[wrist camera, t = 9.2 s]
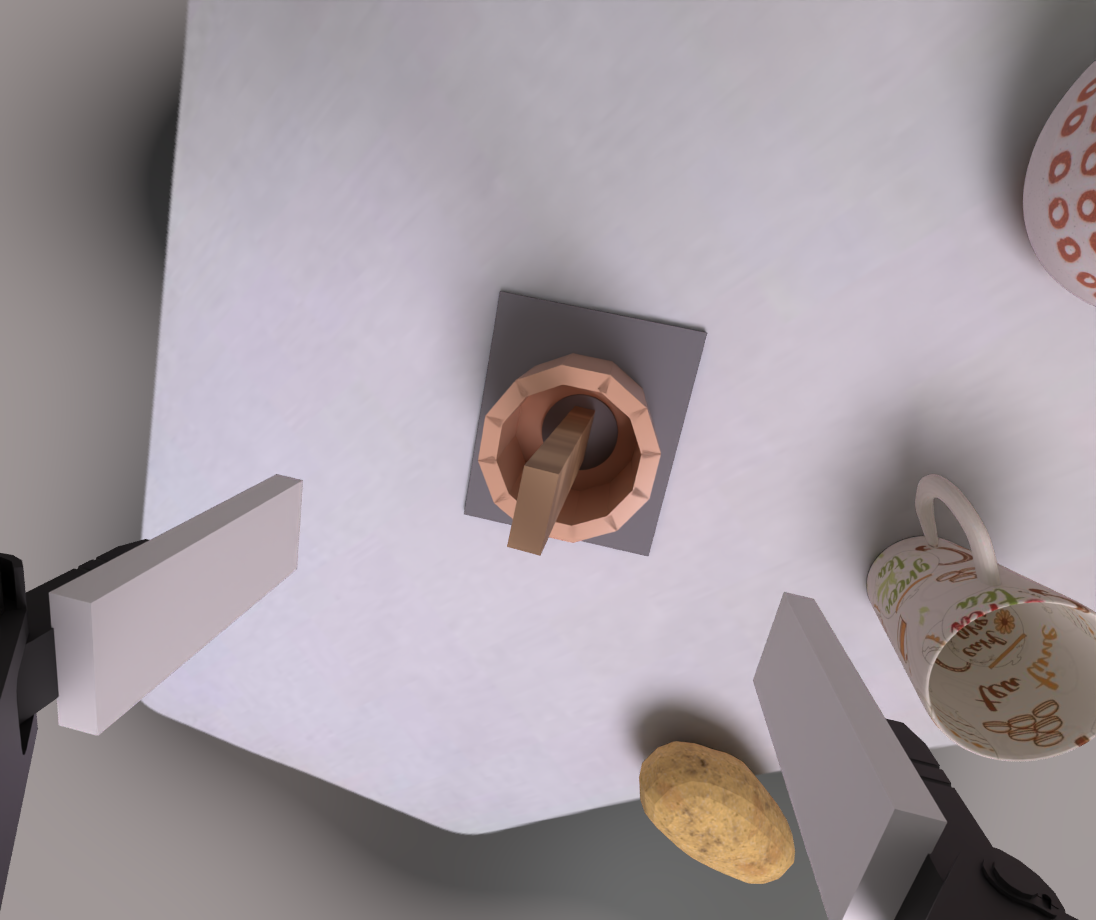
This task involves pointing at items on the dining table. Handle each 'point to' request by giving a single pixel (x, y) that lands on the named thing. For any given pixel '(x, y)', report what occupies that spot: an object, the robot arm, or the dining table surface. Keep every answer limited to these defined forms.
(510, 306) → the mat
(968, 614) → the mug
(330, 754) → the dining table surface
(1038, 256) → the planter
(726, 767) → the potato
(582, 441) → the long wooden stick
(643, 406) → the jar
